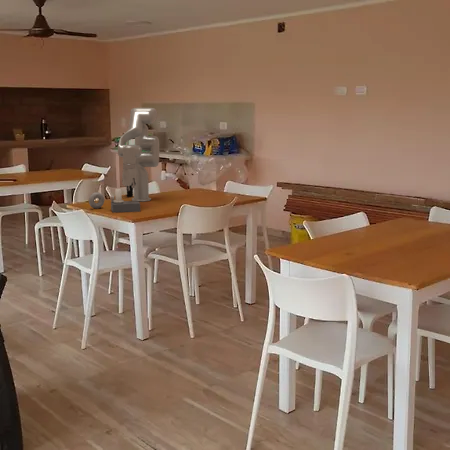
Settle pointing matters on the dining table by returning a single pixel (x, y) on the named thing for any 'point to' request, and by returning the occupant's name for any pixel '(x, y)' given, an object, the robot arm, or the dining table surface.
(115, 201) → the plug
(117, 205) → the socket block
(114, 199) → the clip
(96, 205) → the donut
